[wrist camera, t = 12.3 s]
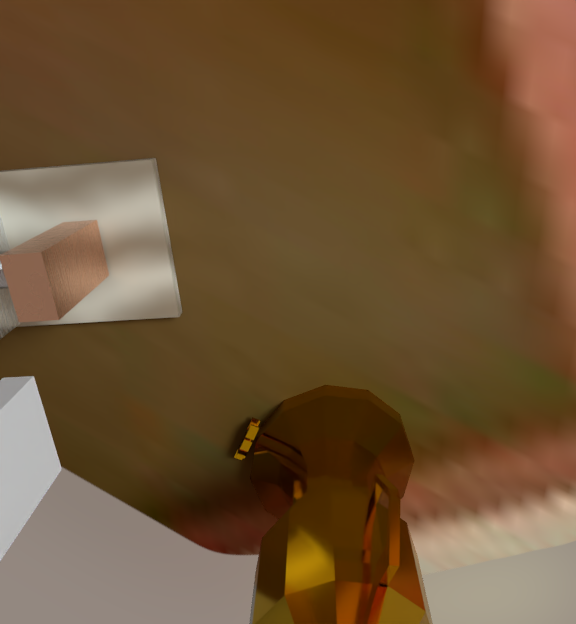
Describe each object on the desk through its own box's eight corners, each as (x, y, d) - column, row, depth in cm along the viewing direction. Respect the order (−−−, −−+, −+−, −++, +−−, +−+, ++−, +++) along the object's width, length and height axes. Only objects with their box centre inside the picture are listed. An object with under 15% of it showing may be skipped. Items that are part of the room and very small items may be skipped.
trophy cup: (207, 511, 59) (124, 839, 33) (292, 328, 50) (270, 582, 24) (350, 562, 61) (377, 909, 35) (457, 394, 52) (600, 695, 26)
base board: (-103, 179, 46) (-113, 181, 45) (155, 157, 44) (151, 159, 43) (-51, 326, 51) (-59, 331, 50) (182, 311, 50) (179, 316, 49)
